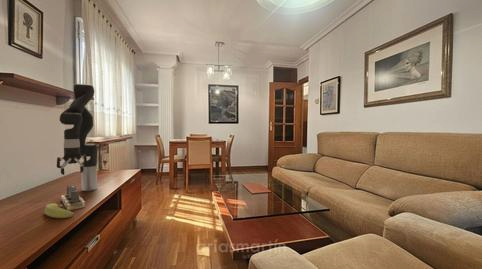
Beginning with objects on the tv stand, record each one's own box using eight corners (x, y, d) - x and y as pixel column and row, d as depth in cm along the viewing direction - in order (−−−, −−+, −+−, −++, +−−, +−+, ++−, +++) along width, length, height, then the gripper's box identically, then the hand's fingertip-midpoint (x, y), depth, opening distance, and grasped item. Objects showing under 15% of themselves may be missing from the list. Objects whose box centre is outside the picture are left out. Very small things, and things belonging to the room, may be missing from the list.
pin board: (61, 200, 136) (61, 185, 136) (77, 197, 142) (77, 183, 141) (67, 210, 120) (67, 194, 120) (85, 206, 126) (84, 191, 125)
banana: (41, 207, 106) (51, 200, 123) (37, 219, 105) (47, 210, 122) (75, 209, 112) (79, 202, 130) (71, 221, 111) (76, 212, 128)
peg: (69, 204, 128) (69, 188, 128) (68, 203, 131) (68, 186, 130) (77, 203, 131) (76, 187, 130) (75, 201, 133) (75, 185, 133)
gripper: (57, 148, 121) (57, 176, 122) (87, 146, 132) (88, 172, 133) (55, 146, 127) (56, 174, 128) (85, 145, 137) (85, 170, 138)
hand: (72, 173), depth 130 cm, fingers open, 8 cm apart
